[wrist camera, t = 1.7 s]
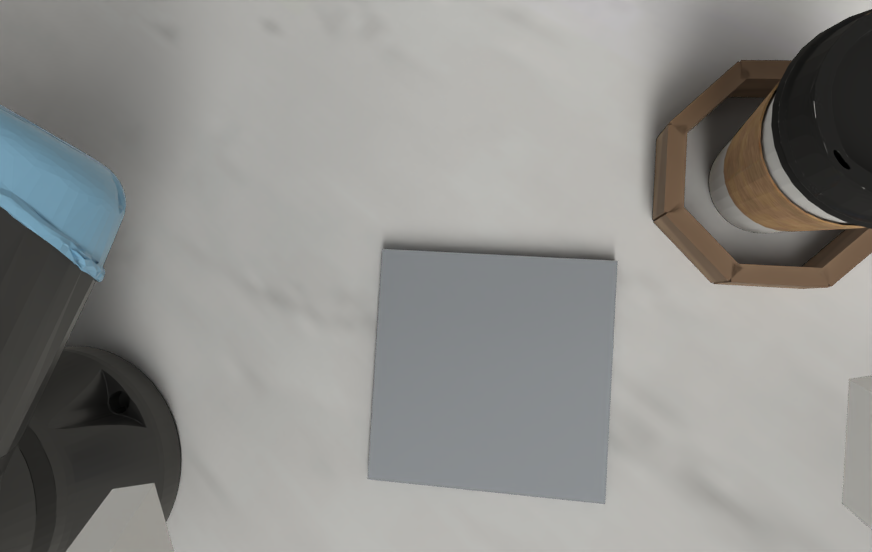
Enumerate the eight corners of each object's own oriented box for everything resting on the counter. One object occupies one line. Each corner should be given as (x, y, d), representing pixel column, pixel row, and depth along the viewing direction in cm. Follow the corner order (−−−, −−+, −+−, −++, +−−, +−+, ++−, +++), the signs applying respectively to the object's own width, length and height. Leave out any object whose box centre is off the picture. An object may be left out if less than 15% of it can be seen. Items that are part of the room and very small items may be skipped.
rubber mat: (370, 475, 38) (367, 479, 37) (385, 249, 38) (382, 248, 38) (603, 499, 36) (605, 504, 35) (615, 261, 36) (617, 260, 36)
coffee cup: (656, 167, 36) (750, 74, 21) (779, 82, 36) (964, -76, 21) (743, 283, 35) (905, 270, 21) (872, 198, 35) (1137, 121, 20)
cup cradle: (649, 280, 36) (660, 278, 33) (659, 79, 37) (671, 59, 34) (870, 292, 34) (904, 291, 31) (878, 81, 35) (911, 61, 32)
